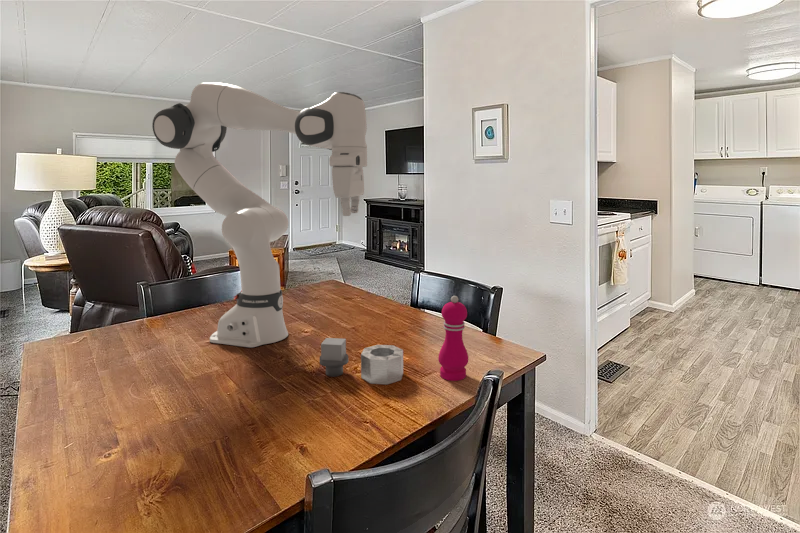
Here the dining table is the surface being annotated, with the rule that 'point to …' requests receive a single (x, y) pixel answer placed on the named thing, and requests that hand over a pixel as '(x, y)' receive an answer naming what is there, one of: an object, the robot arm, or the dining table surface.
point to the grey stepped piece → (333, 356)
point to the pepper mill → (453, 342)
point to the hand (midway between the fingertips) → (350, 214)
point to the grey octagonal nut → (382, 364)
